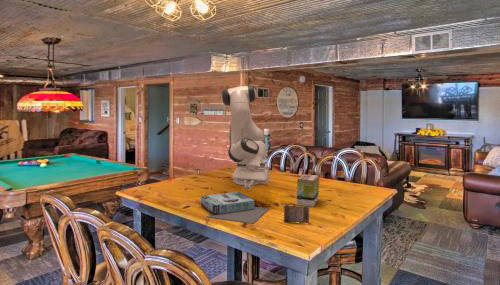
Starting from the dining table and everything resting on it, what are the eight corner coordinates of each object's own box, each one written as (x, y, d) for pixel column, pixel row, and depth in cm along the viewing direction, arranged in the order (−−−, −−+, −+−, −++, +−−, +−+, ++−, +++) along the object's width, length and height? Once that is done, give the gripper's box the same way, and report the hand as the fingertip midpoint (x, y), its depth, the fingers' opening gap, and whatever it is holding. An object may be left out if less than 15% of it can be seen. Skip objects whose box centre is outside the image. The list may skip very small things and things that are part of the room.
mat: (228, 203, 181) (228, 203, 181) (269, 209, 173) (269, 208, 173) (206, 217, 159) (206, 216, 159) (253, 223, 150) (253, 223, 150)
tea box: (314, 207, 177) (315, 180, 175) (296, 205, 180) (296, 178, 179) (318, 199, 191) (319, 174, 189) (301, 198, 194) (302, 173, 193)
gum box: (239, 199, 188) (200, 204, 178) (239, 190, 188) (200, 195, 178) (254, 209, 171) (212, 215, 161) (254, 199, 170) (212, 205, 160)
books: (283, 223, 153) (284, 202, 152) (284, 221, 156) (284, 201, 155) (308, 225, 150) (309, 204, 149) (308, 223, 153) (309, 202, 152)
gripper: (235, 162, 184) (227, 183, 176) (270, 164, 176) (263, 186, 168) (238, 168, 188) (231, 189, 180) (272, 171, 181) (266, 193, 173)
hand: (247, 188), depth 174 cm, fingers closed
